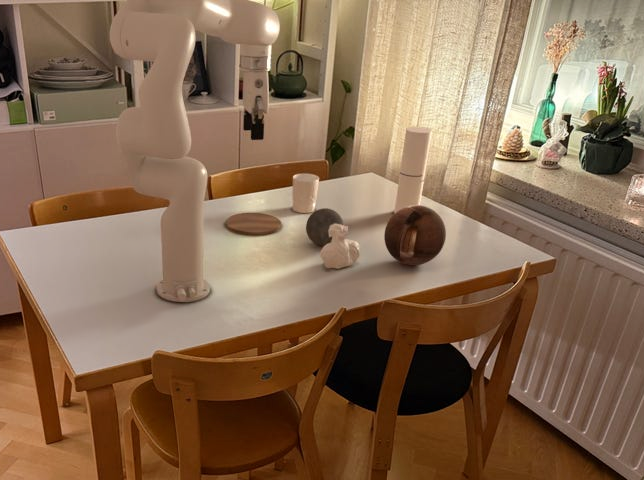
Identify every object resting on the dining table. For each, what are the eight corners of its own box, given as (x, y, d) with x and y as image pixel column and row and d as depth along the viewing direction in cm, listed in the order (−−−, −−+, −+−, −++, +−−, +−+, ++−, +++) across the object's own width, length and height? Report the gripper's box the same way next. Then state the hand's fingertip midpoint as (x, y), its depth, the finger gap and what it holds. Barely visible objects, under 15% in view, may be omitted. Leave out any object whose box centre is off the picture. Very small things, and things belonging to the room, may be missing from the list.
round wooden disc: (286, 234, 197) (286, 230, 196) (230, 237, 194) (230, 233, 194) (274, 214, 210) (274, 211, 209) (221, 217, 208) (221, 213, 207)
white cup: (286, 206, 216) (288, 174, 211) (310, 204, 218) (312, 172, 213) (296, 215, 210) (298, 182, 204) (320, 212, 212) (323, 180, 206)
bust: (354, 266, 183) (341, 226, 184) (371, 258, 176) (358, 216, 177) (317, 276, 178) (304, 234, 178) (333, 267, 171) (319, 224, 172)
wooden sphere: (403, 247, 189) (411, 193, 181) (451, 263, 180) (462, 208, 172) (369, 261, 181) (376, 205, 173) (418, 280, 171) (428, 222, 163)
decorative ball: (348, 248, 188) (352, 212, 183) (317, 254, 184) (321, 218, 179) (327, 235, 196) (331, 201, 191) (297, 241, 192) (300, 206, 187)
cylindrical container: (389, 211, 213) (401, 128, 200) (408, 208, 216) (421, 125, 202) (403, 219, 207) (416, 133, 194) (423, 216, 210) (437, 131, 197)
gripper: (278, 68, 163) (275, 143, 172) (263, 57, 177) (260, 126, 186) (247, 69, 162) (245, 144, 171) (234, 57, 176) (232, 127, 185)
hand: (253, 134), depth 178 cm, fingers open, 9 cm apart
